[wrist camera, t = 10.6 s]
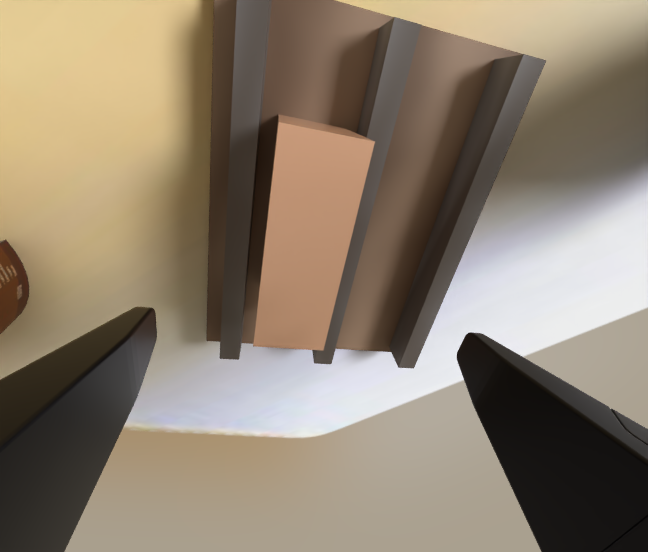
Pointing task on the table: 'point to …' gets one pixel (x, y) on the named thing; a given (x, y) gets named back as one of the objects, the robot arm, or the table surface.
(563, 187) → the table surface
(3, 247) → the food container
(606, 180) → the table surface
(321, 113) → the ribbed brown panel
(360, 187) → the terracotta strip
